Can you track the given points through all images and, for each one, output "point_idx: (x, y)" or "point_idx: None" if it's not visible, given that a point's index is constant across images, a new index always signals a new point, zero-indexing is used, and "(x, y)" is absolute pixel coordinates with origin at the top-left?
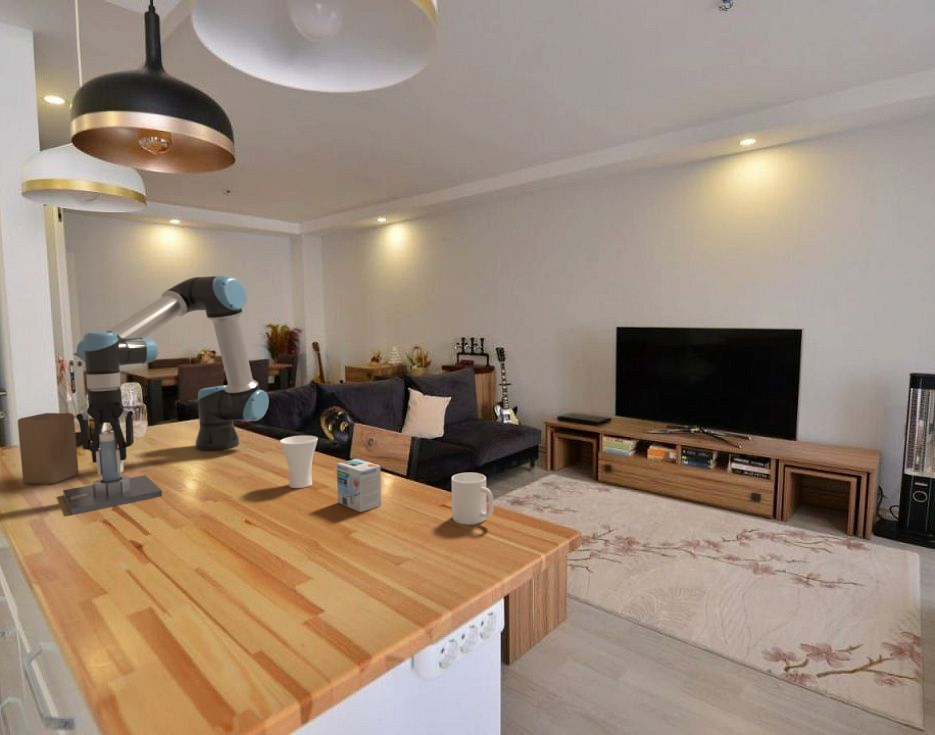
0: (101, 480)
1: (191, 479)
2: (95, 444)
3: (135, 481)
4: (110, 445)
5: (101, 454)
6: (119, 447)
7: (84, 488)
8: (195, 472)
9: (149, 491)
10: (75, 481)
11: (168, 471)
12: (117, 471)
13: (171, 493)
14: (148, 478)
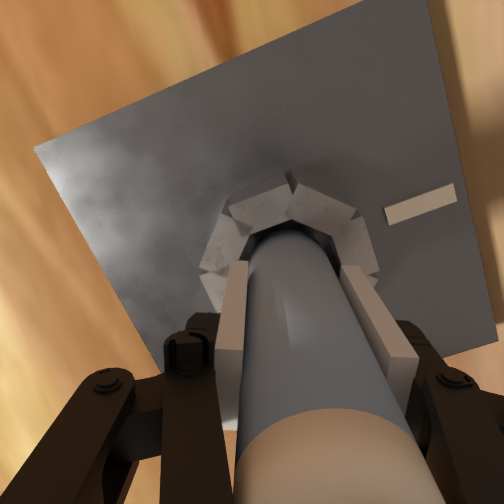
0: None
1: (2, 358)
2: (453, 419)
3: None
4: (286, 374)
5: (363, 338)
6: (205, 367)
7: None
8: (23, 447)
9: (94, 158)
10: None
11: (141, 494)
12: (247, 266)
13: (16, 172)
14: None
